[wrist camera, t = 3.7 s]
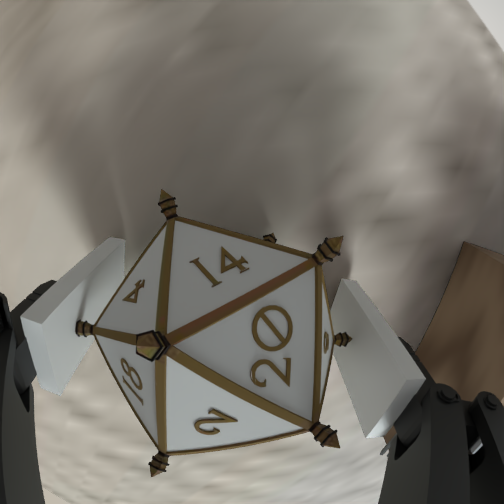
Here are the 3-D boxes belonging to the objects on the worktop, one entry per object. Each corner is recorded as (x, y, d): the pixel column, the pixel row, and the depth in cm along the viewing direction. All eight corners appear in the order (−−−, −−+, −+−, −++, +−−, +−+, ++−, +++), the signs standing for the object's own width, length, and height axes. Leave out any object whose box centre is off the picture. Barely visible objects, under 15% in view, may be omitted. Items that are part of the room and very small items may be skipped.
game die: (203, 228, 16) (87, 108, 6) (362, 275, 14) (452, 170, 4) (148, 384, 14) (-11, 413, 5) (301, 446, 12) (282, 595, 3)
